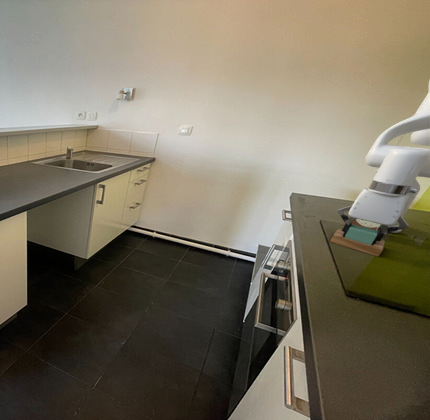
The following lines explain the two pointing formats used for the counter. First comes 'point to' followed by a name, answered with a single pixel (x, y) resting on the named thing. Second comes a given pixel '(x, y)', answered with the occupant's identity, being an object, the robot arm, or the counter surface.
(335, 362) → the counter surface
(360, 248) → the recessed wooden tray
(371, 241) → the green pad
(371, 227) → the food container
